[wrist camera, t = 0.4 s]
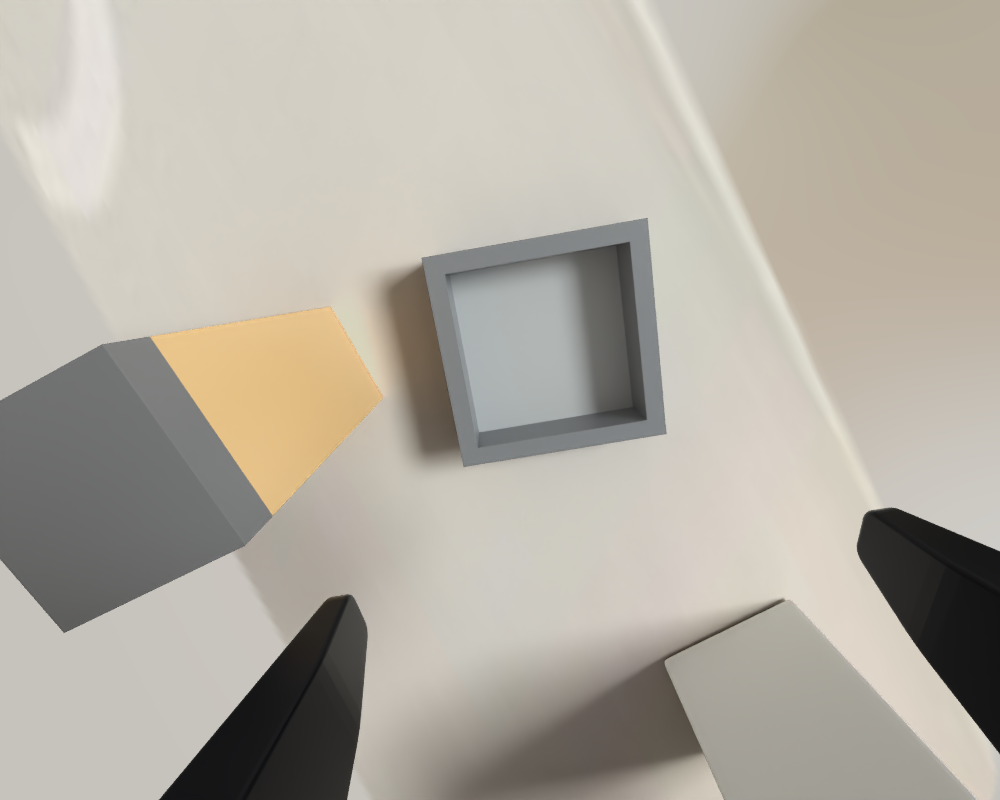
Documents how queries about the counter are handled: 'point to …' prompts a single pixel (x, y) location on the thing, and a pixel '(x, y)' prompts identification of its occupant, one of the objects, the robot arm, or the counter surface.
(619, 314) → the socket collar
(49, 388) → the plug
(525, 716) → the counter surface
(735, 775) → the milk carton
